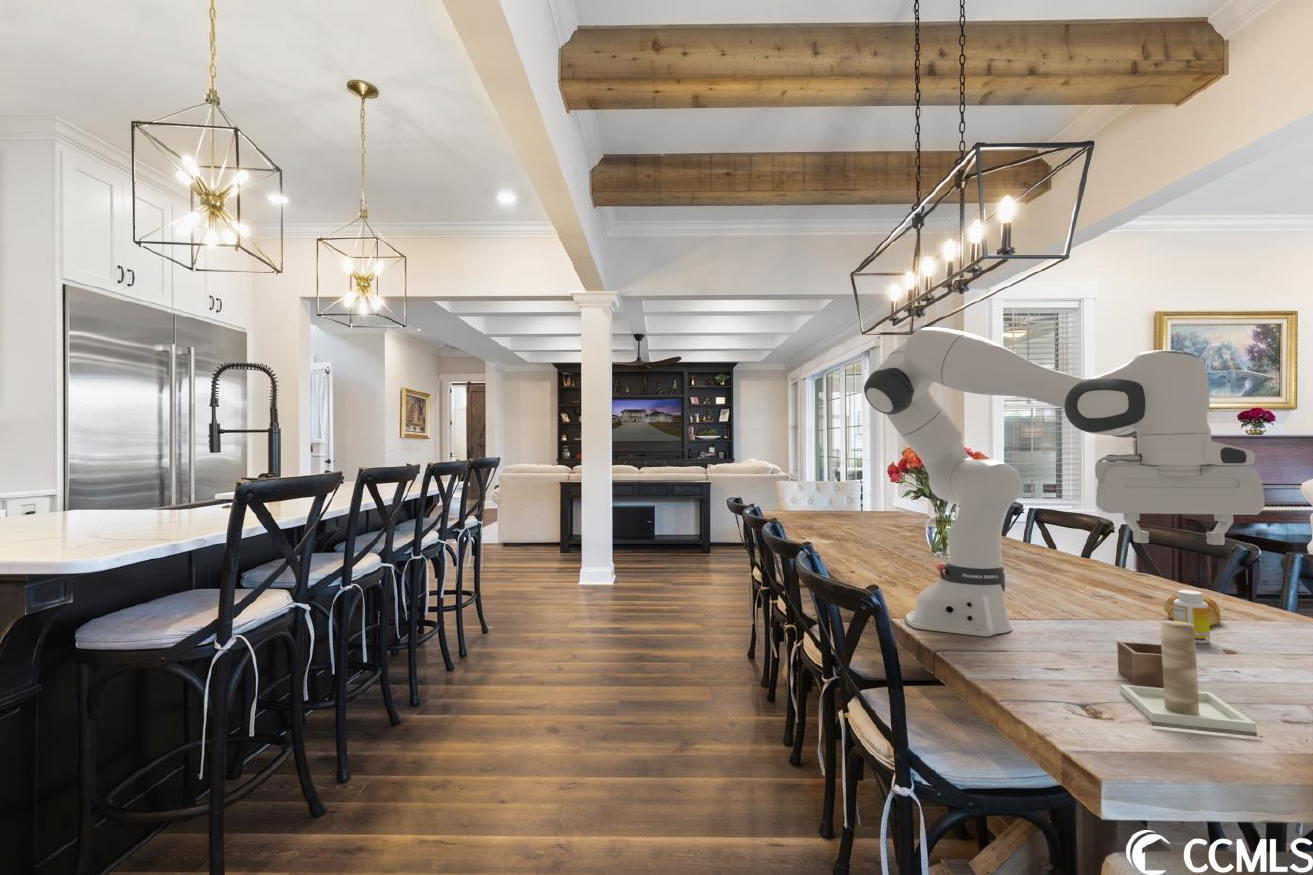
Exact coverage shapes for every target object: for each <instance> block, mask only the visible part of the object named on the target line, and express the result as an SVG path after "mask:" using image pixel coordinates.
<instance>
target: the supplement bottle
mask: <svg viewBox="0 0 1313 875" xmlns="http://www.w3.org/2000/svg"><path fill="white" fill-rule="evenodd" d="M1177 594H1178V598H1179V599H1176V600H1174V619H1175V620H1174V619H1173V620H1174V621H1180V622H1186V623H1190V624H1193V625H1194V628H1195V644H1209V642H1210V640H1211V633H1210V632H1211V631H1210V626H1209V612H1208V604H1207V603H1205V602H1203V595H1204V594H1203V593H1202V592H1200V591H1197V590H1187V589H1180V590H1177ZM1202 594H1203V595H1202Z"/></svg>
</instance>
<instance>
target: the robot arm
mask: <svg viewBox="0 0 1313 875" xmlns="http://www.w3.org/2000/svg"><path fill="white" fill-rule="evenodd" d="M1208 380H1209V379H1208V375H1207V371H1206V366H1205V364H1204V361H1203V360H1202V359H1201V358H1199V357H1198V356H1197V355H1195V354H1193V353H1190V352H1188V351H1187V352H1186V351H1183V350H1182V351H1181V350H1180V351H1179V350H1173V349H1172V350H1170V349H1156V350H1155V349H1154V350H1153V349H1152V350H1147V351H1142V352H1141V353H1138V354H1137V355H1136V356H1135V357H1134V358H1133V359H1132V360H1130V361H1129V362H1127V363H1124V364H1123V365H1121V366H1119V367H1117V368H1115V369H1112V370H1110V371H1108V372H1104V373H1103V374H1099V375H1097V376H1094V377H1093V376H1092V377H1090V378H1088V379H1086V378H1084V377H1081V376H1078V375H1077V376H1076V375H1073V374H1069V373H1066V372H1063V371H1059V370H1055V369H1052V368H1050V367H1046V366H1043V365H1041V364H1039V363H1036V362H1034V361H1032V360H1030V359H1028V358H1026V357H1024V356H1022V355H1020V354H1019V353H1017V352H1014V351H1013V350H1010V349H1009V348H1007V347H1005V346H1003V345H1000V344H999V343H997V342H994V341H992V340H990V339H988V338H985V337H982V336H979V335H976V334H972V333H969V332H965V331H961V330H955V329H950V328H944V327H931V326H927V327H922V328H919V329H917V330H916V331H914V332H913V333H912V334H911V335H910V336H909V337H908V338H907V339H906V341H904V342H902V343H901V344H900V345H899V346H898V347H896V348H895V349H894V350H893V351H892V352H890V353H889V355H887V358H886V359H885V360H884V361H883V362H882V363H881V364H880V365H879V367H878V368H877V369H876V370H875V371H873V372H872V373H871V374H870V375H869V377H868V378H867V380H866V381H865V383H864V386H863V392H864V393H863V394H864V396H865V399H866V400H867V402H868V403H869V404H870V405H871V407H872V408H873V409H875V410H876V411H878V412H880V413H881V414H884V415H886V416H887V418H888V419H889V421H890V422H891V424H892V425H893V427H894V428H895V429H896V431H897V432H898V434H899V435H900V436H901V437H902V438H903V439H904V442H906V443H907V445H909V447H910V449H912V450H913V451H914V453H915V455H916V456H917V457H918V458H919V460H920V461H921V463H922V464H923V467H924V468H925V470H926V473H927V475H928V486H929V489H930V491H931V492H932V494H933V495H935V497H937V498H939V499H941V500H942V501H945V502H947V503H949V504H952V505H959V509H958V513H957V516H956V519H955V522H954V524H953V525H951V526H950V528H949V529H948V534H947V536H948V563H946V564H944V563H943V562H938V563H937V564H936V566H935V567H936V570H937V571H938V572H939V577H940V579H939V580H937V581H936V582H934V583H932V584H931V585H930V586H928V587H927V588H925V589H923V590H922V591H920V593H919V595H918V596H917V599H916V602H915V607H914V608H915V609H914V610H912V611H909V612H907V614H905V615H906V616H905V621H906V623H907V624H908V625H909V626H910V627H912V628H915V629H919V630H923V631H924V630H925V631H933V632H934V631H935V632H944V633H949V634H950V633H952V634H959V635H960V634H961V635H970V636H975V637H976V636H977V637H992V636H994V635H1000V634H1004V633H1005V634H1006V633H1009V632H1011V631H1012V630H1013V626H1012V623H1011V620H1010V617H1009V613H1008V609H1007V603H1006V599H1005V598H1006V597H1005V591H1006V572H1005V567H1004V566H1003V563H1002V562H1003V561H1002V558H1003V557H1002V536H1003V535H1002V534H1003V528H1004V524H1005V519H1006V517H1007V514H1008V511H1009V509H1010V508H1011V506H1012V505H1013V504H1014V503H1015V502H1016V501H1017V500H1018V499H1019V497H1020V495H1021V493H1022V490H1023V482H1022V481H1023V480H1022V477H1021V474H1020V473H1019V471H1018V470H1017V469H1016V468H1015V467H1014V466H1013V465H1010V464H1008V463H1006V462H1004V461H999V460H995V459H982V458H981V459H978V458H977V459H974V458H973V457H971V456H970V455H969V454H968V452H967V451H966V449H965V447H964V445H963V442H962V439H963V432H962V430H961V428H960V427H959V426H958V425H957V423H956V422H955V421H954V420H953V419H952V417H951V416H950V415H949V414H948V412H947V411H946V410H945V408H944V407H943V406H942V405H941V404H940V403H939V402H938V400H937V399H935V397H934V396H933V395H932V394H931V393H930V391H929V390H930V387H931V386H932V385H933V383H937V384H939V385H942V386H944V387H947V388H950V389H952V390H953V389H954V390H956V391H960V392H965V393H970V394H977V395H983V396H984V395H985V396H1000V397H1001V396H1005V397H1018V398H1025V399H1031V400H1035V401H1038V402H1041V403H1044V404H1048V405H1051V406H1054V407H1058V408H1060V409H1063V410H1064V413H1065V416H1066V418H1067V421H1069V423H1070V424H1071V425H1072V426H1074V427H1075V428H1077V429H1078V430H1080V431H1083V432H1086V433H1087V434H1088V433H1089V434H1092V435H1102V436H1112V437H1115V438H1124V439H1125V438H1126V439H1127V438H1133V437H1136V447H1137V448H1136V449H1137V450H1136V451H1137V453H1131V454H1107V455H1105V457H1101V458H1100V459H1098V460H1097V461H1096V463H1095V465H1094V466H1095V467H1094V468H1095V469H1094V470H1095V473H1094V474H1095V477H1096V479H1097V481H1098V482H1097V486H1096V496H1095V497H1096V498H1095V502H1096V507H1097V508H1098V509H1099V510H1100V511H1101V512H1103V513H1106V514H1123V521H1124V522H1125V523H1126V525H1127V526H1128V527H1129V529H1130V530H1131V531H1132V540H1133V542H1134V543H1137V544H1148V543H1150V539H1149V537H1150V532H1149V531H1146V530H1142V528H1141V527H1140V526H1139V524H1138V523H1137V521H1138V522H1139V521H1140V520H1141V519H1140V516H1141V515H1140V514H1148V515H1149V514H1158V515H1159V514H1160V515H1161V514H1163V515H1164V514H1166V515H1167V514H1169V515H1213V516H1214V517H1213V519H1214V521H1215V522H1216V521H1217V523H1216V526H1215V527H1214V528H1213V530H1212V531H1206V534H1205V535H1206V543H1207V544H1208V545H1215V546H1217V545H1218V546H1224V545H1225V542H1226V541H1225V540H1226V539H1225V538H1226V537H1225V534H1226V533H1227V532H1228V530H1229V529H1230V528H1231V526H1232V525H1233V524H1234V515H1242V516H1243V515H1246V516H1247V515H1248V516H1249V515H1250V516H1253V515H1254V516H1256V515H1257V516H1258V515H1259V514H1260V513H1261V512H1262V511H1263V510H1264V508H1265V494H1264V492H1265V491H1264V487H1263V481H1262V478H1261V475H1260V474H1259V472H1258V471H1257V470H1256V468H1254V467H1253V466H1252V465H1253V464H1254V463H1255V461H1256V454H1255V453H1254V451H1252V450H1251V449H1250V450H1249V449H1247V448H1241V447H1238V446H1233V445H1229V444H1225V443H1221V442H1217V441H1213V440H1212V430H1211V427H1210V426H1209V423H1208V422H1209V421H1208V412H1209V409H1210V404H1211V401H1210V399H1211V398H1210V389H1209V381H1208ZM1250 465H1251V466H1250Z"/></svg>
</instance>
